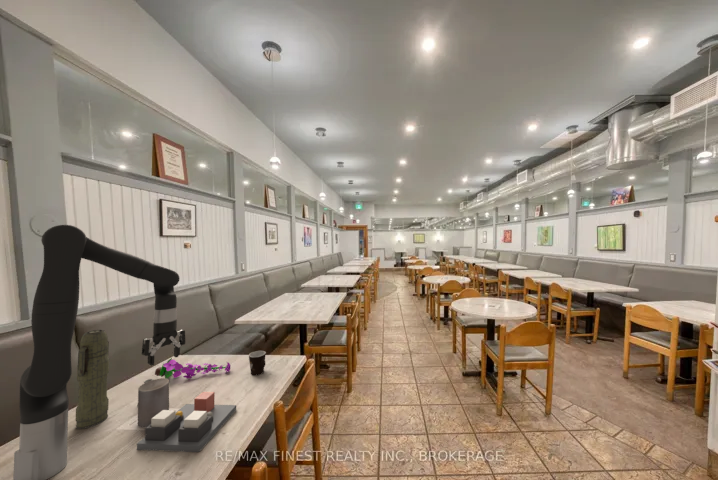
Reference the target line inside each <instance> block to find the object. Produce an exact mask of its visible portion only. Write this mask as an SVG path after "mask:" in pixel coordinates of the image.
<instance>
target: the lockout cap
mask: <svg viewBox="0 0 718 480" xmlns="http://www.w3.org/2000/svg"><path fill="white" fill-rule="evenodd" d="M215 394H216V392H215V391H202V392H201V393H199V394H198V395H197V396H196V397H195V398H193V399H194V400H193V402H194V403H193V404H194V411H207V413H208V412H210V411H211V410H212V409H213V408H214V405H215V398H216V397H215Z"/></svg>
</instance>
